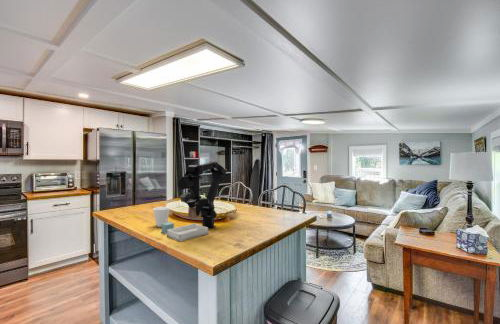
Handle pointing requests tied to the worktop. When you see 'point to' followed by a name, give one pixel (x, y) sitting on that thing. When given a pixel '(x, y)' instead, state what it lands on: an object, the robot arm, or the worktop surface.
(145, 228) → the worktop surface
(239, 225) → the worktop surface
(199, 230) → the tray
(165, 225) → the teal block
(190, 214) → the walnut block
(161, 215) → the cup
